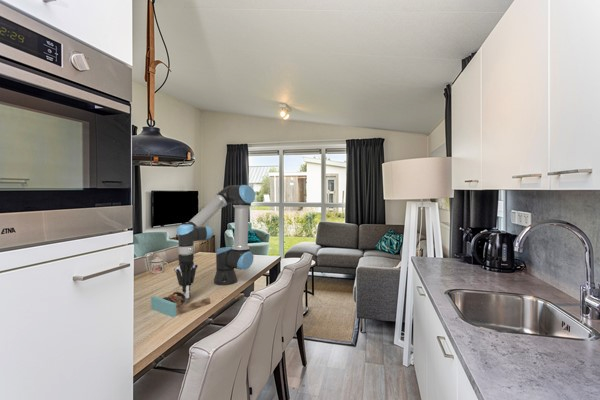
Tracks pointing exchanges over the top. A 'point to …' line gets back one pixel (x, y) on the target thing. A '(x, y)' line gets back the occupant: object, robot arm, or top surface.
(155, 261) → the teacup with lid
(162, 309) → the end stop
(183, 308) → the channel
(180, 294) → the pottery mug
